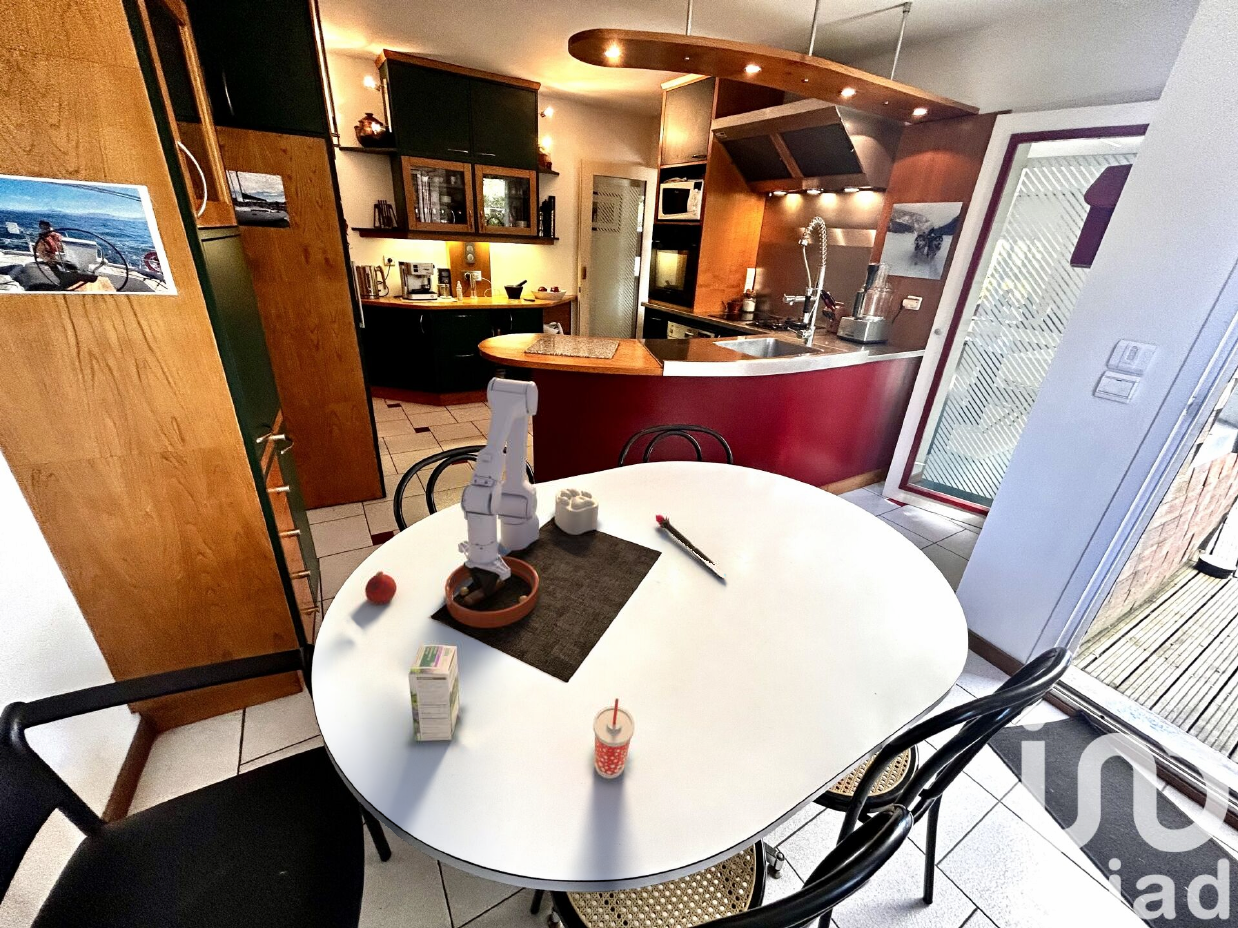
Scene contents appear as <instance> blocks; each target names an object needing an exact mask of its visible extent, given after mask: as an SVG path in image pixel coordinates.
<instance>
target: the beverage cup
mask: <svg viewBox="0 0 1238 928" xmlns="http://www.w3.org/2000/svg"><path fill="white" fill-rule="evenodd" d="M635 725H636V724H635V720H634V716H632V714H631V713H630V712H629V711H628V709H627V710H626V709H625V708H623V707H621V706H619V698H618V697H617V698H615V699H614V705H610V706H605V707H603V708H602V709H599V710H598V711H597V713H596V715H594V718H593V723H592V726H593V728H592V729H593V733H594V768H595V770H596V772H597V774H598V775H599V776H600V777H603V778H604V779H609V780H610V779H616V778H618V777H619V776H620V775H622V773H623V772H624V769H625V765H626V762H627V758H628V753H629V749H630V743H631V739H632V738H633V736H634V733H635V727H636V726H635Z"/></svg>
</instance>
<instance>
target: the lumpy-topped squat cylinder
mask: <svg viewBox="0 0 1238 928" xmlns="http://www.w3.org/2000/svg"><path fill="white" fill-rule="evenodd" d="M554 501H555V502H554V503H555V505H554V523H555V524H556V526H558V528H559V529H561V530H562V531H563V532H565V533H567V534H569V535H574V536H576V535H577V536H578V535H581V534H583V533H585V532H588V531H593V530H595V529H597V527H598V516H599V501H598V500H597V499H596V498H595V497H594V496H593V495H592V493H591V492H590V491H588V490H580V489H577V488H575V487H573V488H572V487H571V488H564V489H561V490H559V491H558V492H557V493H556V495H555V500H554Z"/></svg>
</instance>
